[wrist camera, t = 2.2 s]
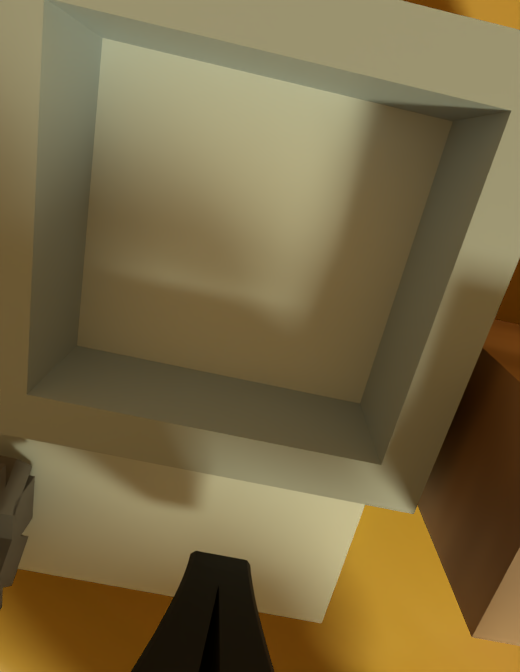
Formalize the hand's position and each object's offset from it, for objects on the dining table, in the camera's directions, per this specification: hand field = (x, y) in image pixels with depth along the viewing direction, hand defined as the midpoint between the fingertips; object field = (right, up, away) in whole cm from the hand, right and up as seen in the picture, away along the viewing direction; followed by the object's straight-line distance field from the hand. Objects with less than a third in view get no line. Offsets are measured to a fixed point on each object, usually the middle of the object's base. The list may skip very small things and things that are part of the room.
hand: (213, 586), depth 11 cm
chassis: (-4, +6, +1) cm, 7 cm away
